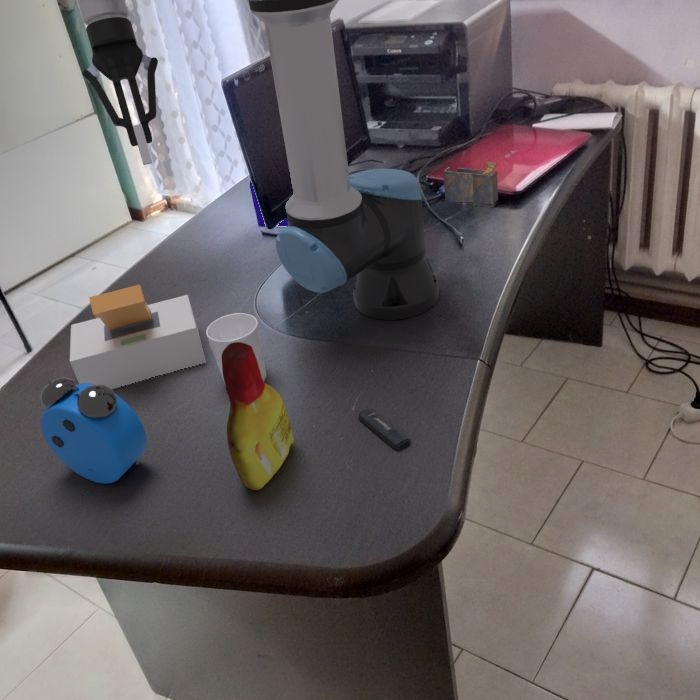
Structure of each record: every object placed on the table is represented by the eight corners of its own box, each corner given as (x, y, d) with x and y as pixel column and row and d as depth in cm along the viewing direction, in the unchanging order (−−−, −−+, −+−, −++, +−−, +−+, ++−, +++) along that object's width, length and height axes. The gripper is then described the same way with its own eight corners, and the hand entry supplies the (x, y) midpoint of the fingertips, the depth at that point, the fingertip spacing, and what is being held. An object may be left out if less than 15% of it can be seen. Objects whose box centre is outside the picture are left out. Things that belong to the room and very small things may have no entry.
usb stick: (412, 445, 99) (411, 437, 98) (397, 455, 98) (396, 446, 97) (372, 413, 106) (370, 404, 105) (357, 421, 105) (355, 413, 104)
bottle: (269, 502, 93) (235, 376, 82) (225, 495, 95) (186, 371, 84) (304, 440, 102) (278, 319, 91) (263, 435, 104) (232, 316, 93)
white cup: (230, 401, 112) (215, 347, 106) (214, 377, 118) (199, 324, 112) (277, 382, 114) (265, 328, 109) (259, 359, 120) (246, 307, 115)
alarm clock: (160, 465, 102) (127, 378, 93) (131, 496, 97) (95, 408, 89) (89, 446, 107) (52, 363, 99) (59, 475, 103) (18, 391, 94)
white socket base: (84, 358, 128) (70, 324, 124) (197, 328, 131) (187, 294, 127) (84, 396, 118) (69, 361, 114) (206, 362, 122) (195, 327, 118)
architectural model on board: (498, 204, 159) (497, 161, 154) (493, 210, 157) (492, 166, 152) (451, 198, 165) (449, 157, 159) (445, 204, 163) (442, 162, 157)
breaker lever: (105, 319, 121) (89, 297, 110) (151, 307, 122) (139, 284, 111) (109, 335, 120) (93, 314, 109) (155, 322, 121) (144, 301, 110)
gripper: (146, 21, 128) (183, 157, 133) (69, 34, 125) (110, 173, 130) (146, 9, 121) (186, 153, 126) (65, 22, 118) (109, 170, 123)
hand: (147, 163), depth 128 cm, fingers closed
